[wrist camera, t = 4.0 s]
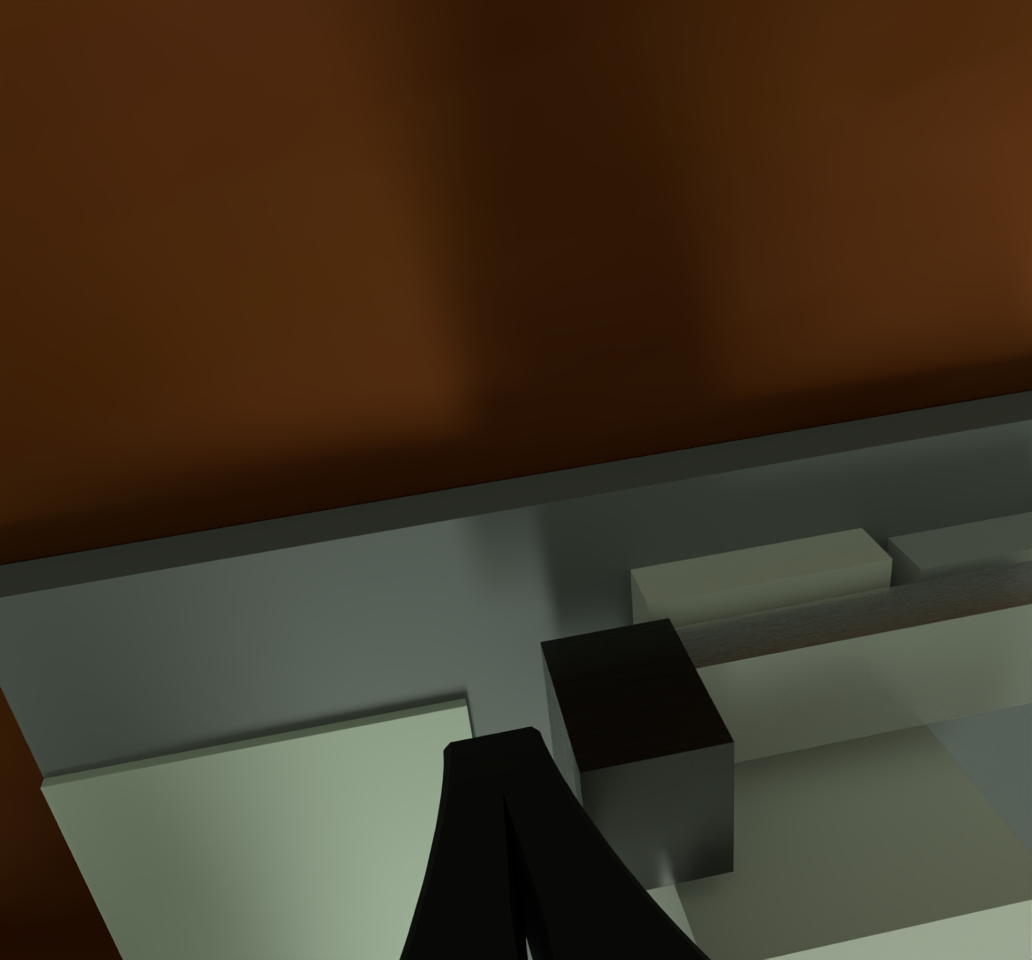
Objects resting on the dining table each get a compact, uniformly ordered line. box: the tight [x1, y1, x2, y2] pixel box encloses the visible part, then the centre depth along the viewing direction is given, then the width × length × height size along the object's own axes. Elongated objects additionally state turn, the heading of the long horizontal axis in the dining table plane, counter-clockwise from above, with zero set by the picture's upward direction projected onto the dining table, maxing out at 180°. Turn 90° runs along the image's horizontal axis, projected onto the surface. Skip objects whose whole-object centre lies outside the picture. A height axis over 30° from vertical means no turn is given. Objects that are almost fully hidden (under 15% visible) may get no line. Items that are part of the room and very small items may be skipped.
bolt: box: [540, 561, 1032, 890], centre depth 13 cm, size 2×8×3 cm, turn 96°
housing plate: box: [0, 391, 1032, 960], centre depth 17 cm, size 13×21×2 cm, turn 96°
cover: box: [630, 528, 1032, 960], centre depth 15 cm, size 8×5×5 cm, turn 6°
